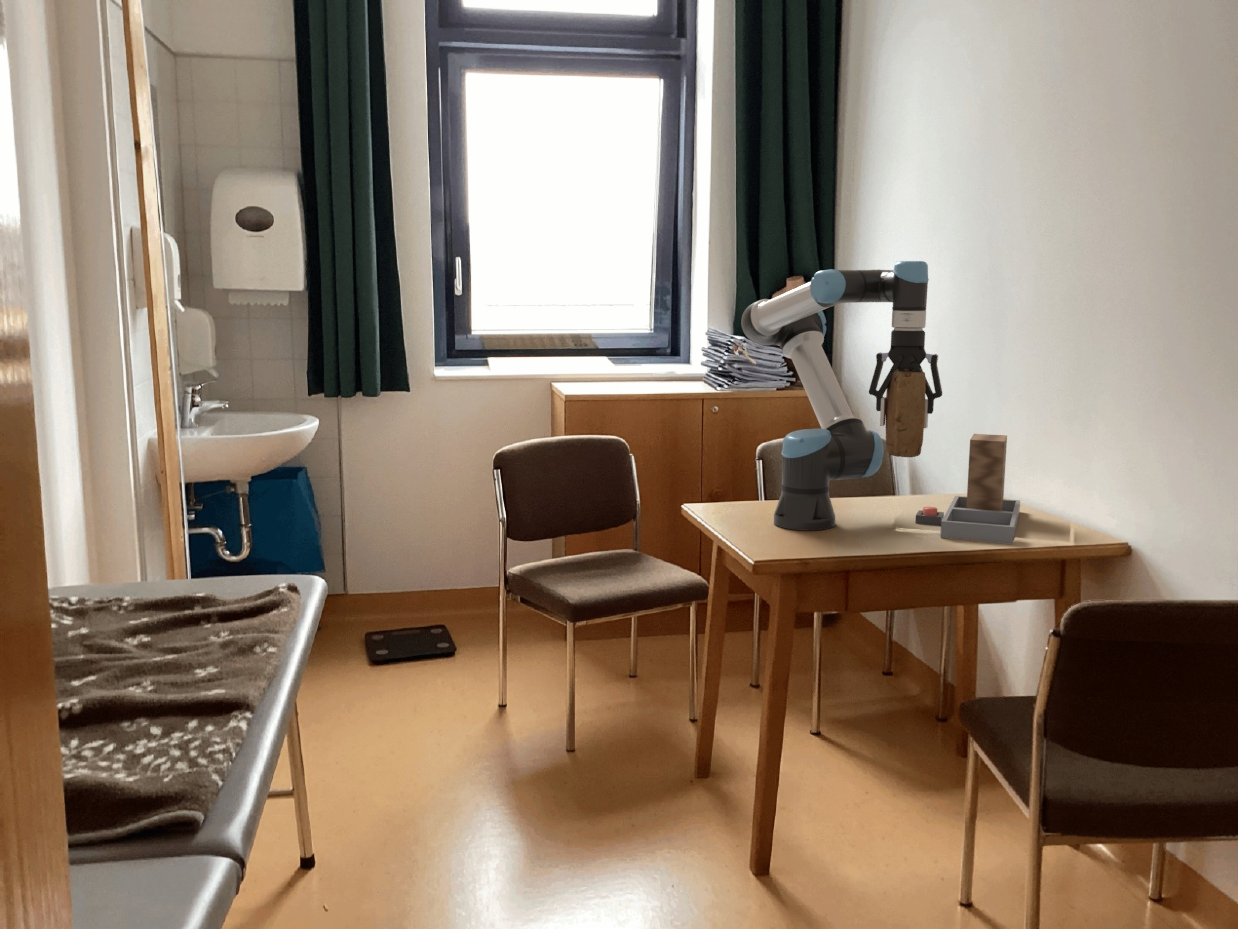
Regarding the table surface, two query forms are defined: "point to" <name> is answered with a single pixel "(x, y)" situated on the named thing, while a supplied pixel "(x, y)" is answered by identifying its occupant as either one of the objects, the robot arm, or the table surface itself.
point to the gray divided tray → (980, 522)
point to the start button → (930, 511)
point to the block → (905, 413)
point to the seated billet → (986, 472)
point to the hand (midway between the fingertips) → (903, 426)
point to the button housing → (929, 518)
